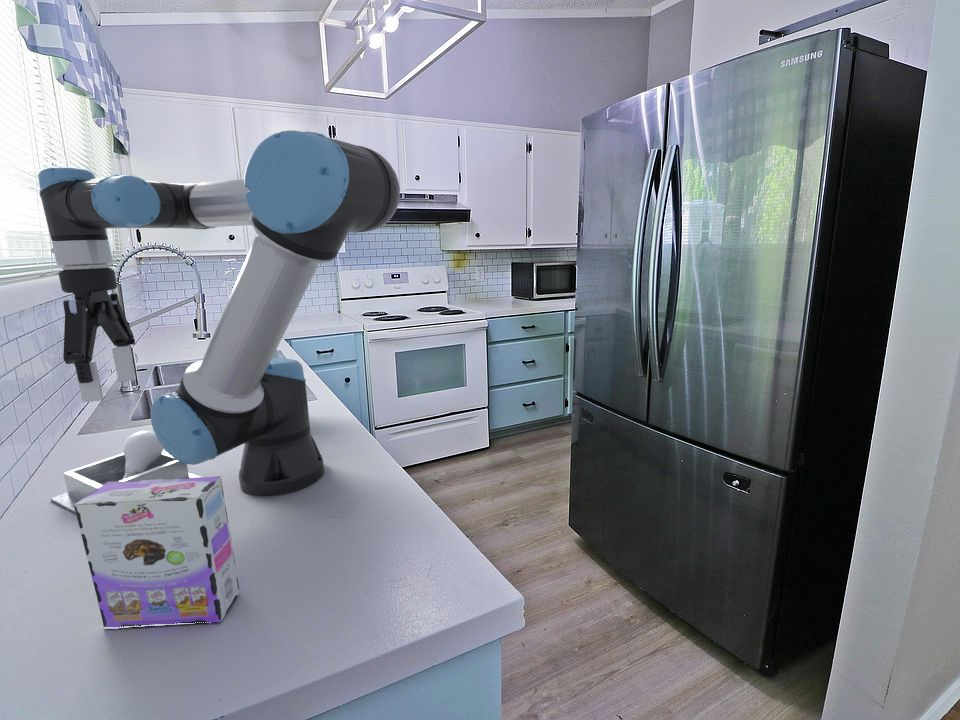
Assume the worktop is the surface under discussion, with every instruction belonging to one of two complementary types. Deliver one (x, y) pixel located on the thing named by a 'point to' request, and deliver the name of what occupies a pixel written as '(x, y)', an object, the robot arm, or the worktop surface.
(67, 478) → the flange
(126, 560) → the candy box
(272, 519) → the worktop surface
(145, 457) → the lightbulb
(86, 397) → the robot arm
